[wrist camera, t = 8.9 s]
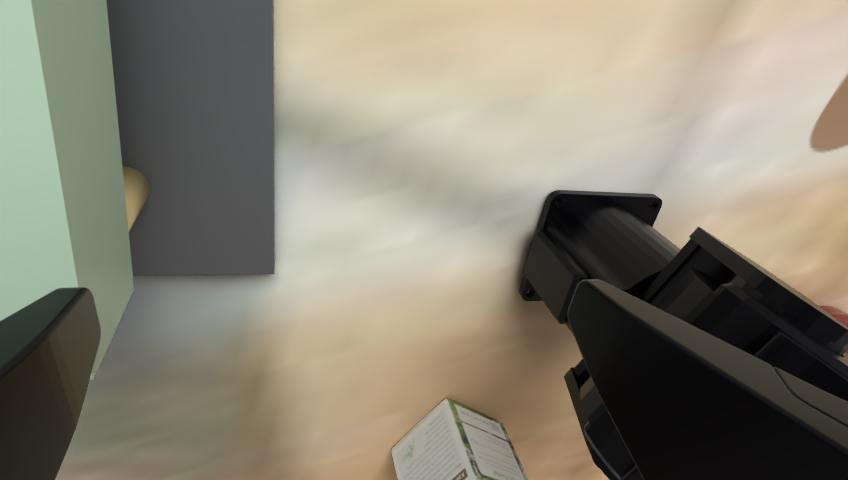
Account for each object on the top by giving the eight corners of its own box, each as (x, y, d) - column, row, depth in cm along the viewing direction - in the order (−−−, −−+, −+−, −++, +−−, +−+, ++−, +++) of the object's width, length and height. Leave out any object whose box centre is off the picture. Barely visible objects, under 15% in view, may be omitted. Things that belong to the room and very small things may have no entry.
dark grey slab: (272, -293, 13) (265, -389, 9) (274, 261, 22) (271, 326, 18) (-504, -531, 9) (-1061, -864, 5) (-116, 262, 18) (-223, 346, 14)
